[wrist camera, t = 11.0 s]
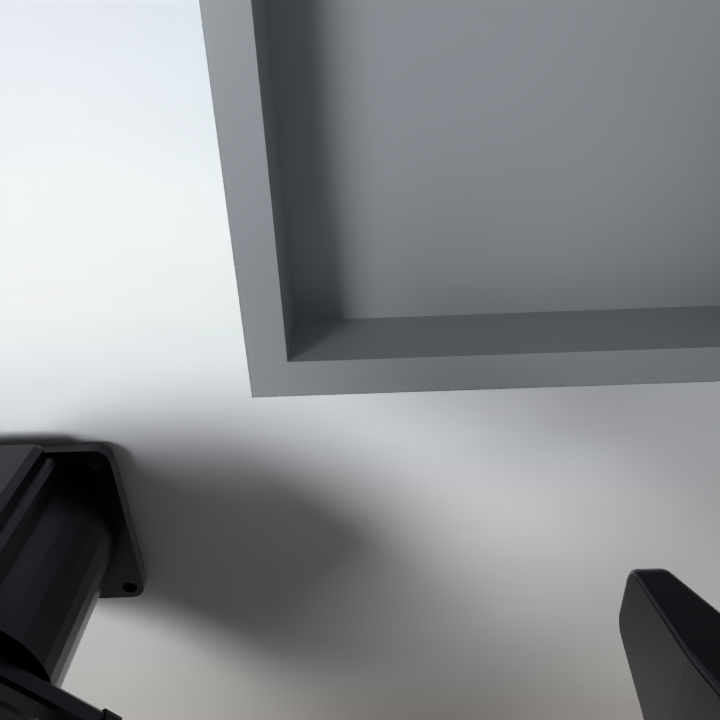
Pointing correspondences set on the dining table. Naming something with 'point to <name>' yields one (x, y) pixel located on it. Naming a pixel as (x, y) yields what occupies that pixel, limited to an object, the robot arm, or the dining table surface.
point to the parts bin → (470, 191)
